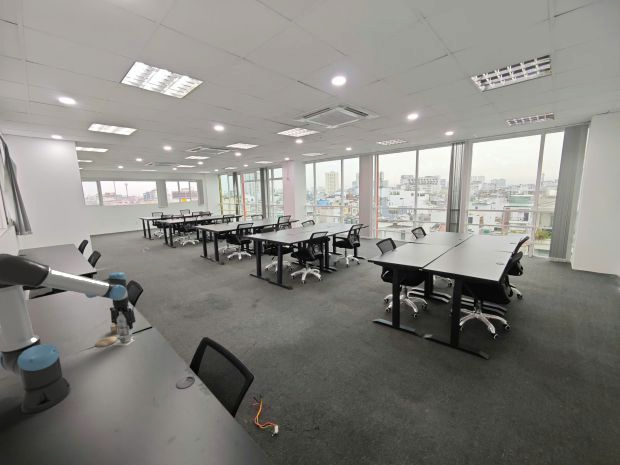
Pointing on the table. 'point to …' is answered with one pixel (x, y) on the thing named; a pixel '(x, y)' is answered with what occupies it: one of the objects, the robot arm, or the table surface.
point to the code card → (124, 343)
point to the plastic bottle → (123, 328)
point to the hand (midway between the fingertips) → (125, 333)
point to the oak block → (113, 329)
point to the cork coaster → (106, 341)
